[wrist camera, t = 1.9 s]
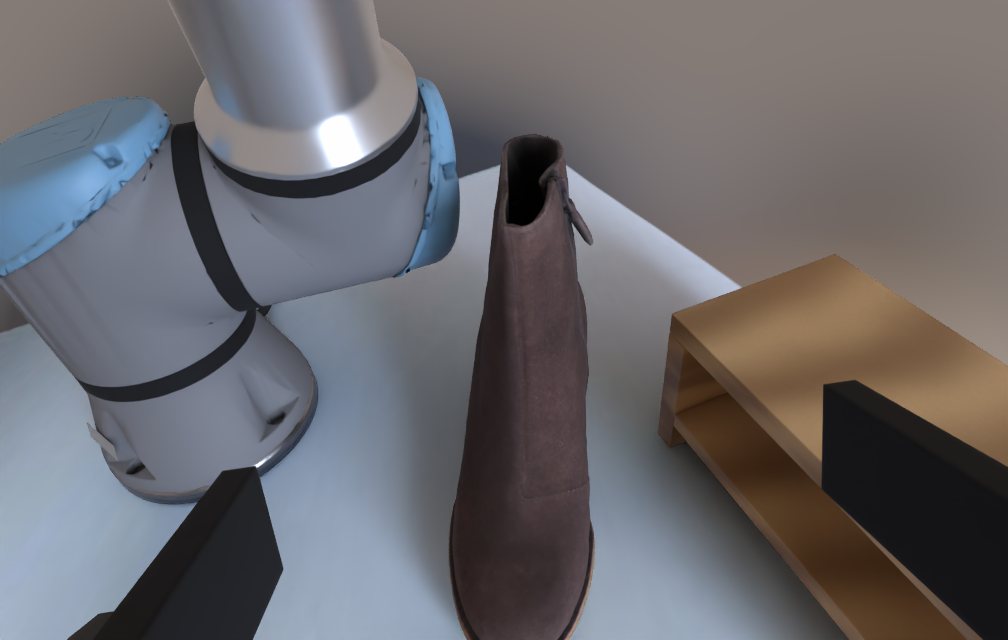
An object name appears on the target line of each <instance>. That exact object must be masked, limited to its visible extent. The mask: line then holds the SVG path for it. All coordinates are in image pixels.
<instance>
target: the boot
mask: <svg viewBox="0 0 1008 640" xmlns="http://www.w3.org/2000/svg"><path fill="white" fill-rule="evenodd" d="M563 152H564V151H563V147H562V145H561V144H560V142H559V141H558V140H554V139H552V138H550V137H548V136H547V137H544V136H541V135H537V134H530V135H523V136H518V137H515V138H513V139H511V140H509V141H508V142H506V143H505V145H504V147H503V150H502V158H501V166H500V175H499V184H498V192H497V199H496V204H495V210H494V219H493V229H492V239H491V247H490V257H489V271H488V282H487V287H486V292H485V300H484V309H483V315H482V319H481V323H480V328H479V333H478V338H477V344H476V352H475V361H474V369H473V376H472V385H471V392H470V399H469V408H468V417H467V425H466V434H465V444H464V452H463V459H462V465H461V472H460V477H459V482H458V488H457V494H456V499H455V503H454V506H453V511H452V516H451V522H450V533H449V566H450V577H451V585H452V592H453V597H454V603H455V607H456V611H457V615H458V619H459V622H460V625H461V628H462V630H463V632H464V635H465V637H466V639H467V640H569V639H570V637H571V635H572V633H573V632H574V630H575V628H576V626H577V624H578V621H579V619H580V617H581V614H582V611H583V609H584V606H585V603H586V599H587V596H588V592H589V588H590V584H591V579H592V573H593V565H594V550H595V544H594V533H593V527H592V523H591V520H590V509H589V493H590V487H589V476H588V461H587V440H586V400H585V396H586V390H587V383H588V376H589V366H588V353H587V316H586V306H585V301H584V296H583V293H582V289H581V287H580V284H579V282H578V275H577V262H576V248H575V240H574V233H573V228H572V223H573V225H574V226H575V228H576V229H577V230H578V232H579V233H580V235H581V236H582V238H583V239H584V241H585V242H586V243H588V244H589V245H592V244H593V239H592V235H591V233H590V231H589V229H588V227H587V225H586V224H585V222H584V221H583V219H582V217H581V215H580V214H579V213H578V211H577V210H576V208H575V205H574V203H573V201H572V200H571V199H570V198H569V192H568V178H567V172H566V164H565V160H564V157H563Z"/></svg>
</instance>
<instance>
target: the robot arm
mask: <svg viewBox="0 0 1008 640" xmlns="http://www.w3.org/2000/svg"><path fill="white" fill-rule="evenodd" d="M167 1H168V3H169V5H170V7H171V9H172V11H173V13H174V15H175V17H176V19H177V21H178V23H179V25H180V27H181V29H182V31H183V33H184V35H185V37H186V39H187V41H188V43H189V45H190V47H191V49H192V52H193V53H194V55H195V58H196V60H197V62H198V64H199V65H200V68H201V69H202V72H203V74H204V76H205V80H204V81H203V83H202V85H201V86H200V88H199V91H198V93H197V96H196V100H195V105H194V120H195V121H194V122H189V123H184V124H176V125H172V124H170V122H171V120H170V118H169V116H168V114H167V112H166V111H164V110H162V109H161V108H160V107H159V105H158V104H157V103H156V102H155V101H153V100H151V99H149V98H145V97H140V96H136V97H133V98H127V97H118V98H113V99H108V100H103V101H99V102H96V103H92V104H89V105H85V106H82V107H79V108H76V109H73V110H70V111H68V112H65V113H63V114H60V115H58V116H55V117H53V118H50V119H48V120H45V121H43V122H41V123H39V124H36V125H34V126H32V127H30V128H28V129H26V130H24V131H22V132H20V133H18V134H16V135H15V136H13V137H11V138H9V139H7V140H6V141H4V142H2V143H0V288H1V289H2V290H3V292H4V293H5V294H6V295H7V296H8V298H9V299H10V300H11V301H12V302H13V304H14V305H15V306H16V307H17V308H18V310H19V311H20V312H21V313H22V314H23V316H24V317H25V318H26V319H27V320H28V322H29V323H30V324H31V325H32V327H33V328H34V329H35V330H36V331H37V333H38V334H39V335H40V336H41V337H42V339H43V340H44V341H45V342H46V343H47V345H48V346H49V347H50V348H51V350H52V351H53V352H54V353H55V354H56V356H57V357H58V358H59V359H60V360H61V362H62V363H63V364H64V365H65V366H66V368H67V369H68V370H69V371H70V372H71V374H72V375H73V376H74V377H75V378H76V379H77V381H78V382H79V383H80V384H81V386H82V387H83V388H84V390H85V391H86V392H87V394H88V397H89V401H90V405H91V409H92V413H93V417H94V421H95V425H96V429H97V431H96V430H95V429H94V428H93V427H92V426H91V425H89V424H88V423H87V425H88V428H89V432H90V435H91V437H92V438H93V439H94V440H95V441H96V442H97V443H98V444H100V445H101V449H102V453H103V456H104V458H105V460H106V462H107V464H108V466H109V468H110V470H111V471H112V473H113V474H114V475H115V477H116V478H117V479H118V480H119V481H120V482H121V483H122V484H123V486H124V487H125V488H126V489H128V490H129V491H130V492H131V493H133V494H134V495H136V496H138V497H140V498H142V499H144V500H147V501H150V502H155V503H161V504H187V503H194V502H198V503H197V504H196V506H195V507H194V508H193V510H192V511H191V512H190V513H189V515H188V516H187V517H186V519H185V520H184V521H183V523H182V524H181V525H180V526H179V528H178V529H177V530H176V532H175V533H174V534H173V536H172V537H171V538H170V539H169V541H168V542H167V543H166V545H165V546H164V547H163V549H162V550H161V551H160V552H159V554H158V555H157V556H156V558H155V559H154V560H153V562H152V563H151V564H150V565H149V567H148V568H147V569H146V571H145V572H144V573H143V575H142V576H141V577H140V578H139V580H138V581H137V582H136V584H135V585H134V586H133V588H132V589H131V590H130V591H129V593H128V594H127V595H126V597H125V598H124V599H123V601H122V602H121V603H120V604H119V606H118V607H117V608H116V610H115V611H114V612H107V613H101V614H98V615H97V616H95V617H94V618H93V619H92V620H90V621H89V622H88V623H87V624H85V625H84V626H83V627H82V628H80V629H79V630H78V631H77V632H75V633H74V634H73V635H72V636H70V637H69V638H68V639H67V640H253V638H254V635H255V633H256V631H257V628H258V626H259V624H260V622H261V619H262V617H263V615H264V612H265V610H266V608H267V606H268V603H269V601H270V599H271V596H272V594H273V592H274V590H275V587H276V585H277V583H278V580H279V578H280V576H281V574H282V571H283V565H282V562H281V558H280V554H279V550H278V546H277V543H276V539H275V535H274V531H273V527H272V524H271V520H270V516H269V512H268V508H267V505H266V501H265V497H264V493H263V489H262V486H261V482H260V478H259V477H260V476H261V475H263V474H264V473H266V472H267V471H269V470H270V469H271V468H273V467H274V466H275V465H276V464H277V463H279V462H280V461H281V460H282V459H283V458H284V457H285V456H286V455H287V454H288V453H289V452H290V451H291V450H292V449H293V448H294V447H295V446H296V444H297V443H298V442H299V441H300V439H301V438H302V437H303V435H304V434H305V432H306V430H307V429H308V427H309V425H310V423H311V421H312V419H313V416H314V414H315V411H316V407H317V401H318V387H317V382H316V379H315V376H314V374H313V372H312V370H311V367H310V365H309V363H308V361H307V360H306V358H305V357H304V356H303V354H302V353H301V351H300V350H299V349H298V348H297V347H296V346H295V345H294V344H293V343H292V342H291V341H290V340H289V339H288V338H286V337H285V336H284V335H283V334H282V333H281V332H280V331H279V330H278V329H277V328H276V327H275V326H274V325H272V324H271V323H270V322H269V321H268V320H267V319H266V318H265V315H266V314H267V312H268V311H269V309H270V307H271V305H272V304H276V303H280V302H284V301H289V300H293V299H298V298H302V297H306V296H311V295H315V294H320V293H324V292H328V291H333V290H337V289H341V288H346V287H350V286H355V285H359V284H363V283H368V282H372V281H377V280H381V279H385V278H390V277H394V278H395V277H400V276H403V275H404V274H406V273H407V272H409V271H410V270H413V269H416V268H420V267H423V266H426V265H430V264H433V263H436V262H438V261H440V260H442V259H443V258H444V257H445V256H446V255H447V254H448V253H449V252H450V251H451V249H452V247H453V245H454V243H455V240H456V237H457V232H458V226H459V215H460V192H459V180H458V177H457V174H456V171H455V163H456V155H455V147H454V141H453V136H452V131H451V126H450V122H449V118H448V115H447V112H446V108H445V106H444V103H443V101H442V98H441V96H440V94H439V91H438V90H437V88H436V87H435V85H434V84H433V83H432V82H431V81H429V80H428V79H424V78H416V76H415V73H414V71H413V68H412V66H411V65H410V63H409V62H408V60H407V59H406V57H405V56H404V55H403V54H402V53H401V52H400V51H399V50H398V49H396V48H395V47H394V46H393V45H392V44H390V43H388V42H387V41H385V40H383V39H382V38H380V36H379V30H378V25H377V20H376V15H375V9H374V4H373V0H167ZM256 308H259V309H258V310H257V309H256ZM821 489H822V490H823V491H824V492H825V493H826V494H827V495H828V496H829V497H830V498H832V499H833V500H834V501H835V502H836V503H837V504H838V505H839V506H840V507H841V508H842V509H843V510H844V511H845V512H847V513H848V514H849V515H850V516H851V517H852V518H853V519H854V520H855V521H856V522H857V523H858V524H859V525H860V526H862V527H863V528H864V529H865V530H866V531H867V532H868V533H869V534H870V535H871V536H872V537H873V538H874V539H875V540H877V541H878V542H879V543H880V544H881V545H882V546H883V547H884V548H885V549H886V550H887V551H888V552H889V553H891V554H892V555H893V556H894V557H895V558H896V559H897V560H898V561H899V562H900V563H901V564H902V565H903V566H904V567H906V568H907V569H908V570H909V571H910V572H911V573H912V574H913V575H914V576H915V577H916V578H917V579H918V580H919V581H921V582H922V583H923V584H924V585H925V586H926V587H927V588H928V589H929V590H930V591H931V592H932V593H933V594H934V595H936V596H937V597H938V598H939V599H940V600H941V601H942V602H943V603H944V604H945V605H946V606H947V607H948V608H949V609H951V610H952V611H953V612H954V613H955V614H956V615H957V616H958V617H959V618H960V619H961V620H962V621H963V622H965V623H966V624H967V625H968V626H969V627H970V628H971V629H972V630H973V631H974V632H975V633H976V634H977V635H978V636H980V637H981V638H982V639H983V640H1008V467H1007V466H1005V465H1004V464H1002V463H1000V462H998V461H997V460H995V459H993V458H991V457H990V456H988V455H986V454H984V453H983V452H981V451H979V450H977V449H976V448H974V447H972V446H970V445H969V444H967V443H965V442H963V441H962V440H960V439H958V438H956V437H955V436H953V435H951V434H949V433H948V432H946V431H944V430H942V429H941V428H939V427H937V426H935V425H934V424H932V423H930V422H928V421H927V420H925V419H923V418H921V417H920V416H918V415H916V414H914V413H913V412H911V411H909V410H907V409H906V408H904V407H902V406H900V405H899V404H897V403H895V402H893V401H892V400H890V399H888V398H886V397H885V396H883V395H881V394H879V393H878V392H876V391H874V390H873V389H871V388H869V387H867V386H866V385H864V384H862V383H860V382H859V381H857V380H850V381H843V382H836V383H829V384H823V426H822V484H821Z"/></svg>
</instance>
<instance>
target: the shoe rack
mask: <svg viewBox="0 0 1008 640" xmlns="http://www.w3.org/2000/svg"><path fill="white" fill-rule="evenodd" d="M850 380H857V381H859V382H860V383H862V384H864V385H866V386H867V387H869V388H871V389H873V390H874V391H876V392H878V393H879V394H881V395H883V396H885V397H886V398H888V399H890V400H892V401H893V402H895V403H897V404H899V405H900V406H902V407H904V408H906V409H907V410H909V411H911V412H913V413H914V414H916V415H918V416H920V417H921V418H923V419H925V420H927V421H928V422H930V423H932V424H934V425H935V426H937V427H939V428H941V429H942V430H944V431H946V432H948V433H949V434H951V435H953V436H955V437H956V438H958V439H960V440H962V441H963V442H965V443H967V444H969V445H970V446H972V447H974V448H976V449H977V450H979V451H981V452H983V453H984V454H986V455H988V456H990V457H991V458H993V459H995V460H997V461H998V462H1000V463H1002V464H1004V465H1005V466H1007V467H1008V366H1007V365H1006V364H1004V363H1002V362H1001V361H999V360H998V359H996V358H995V357H993V356H992V355H990V354H988V353H987V352H986V351H984V350H982V349H981V348H979V347H978V346H976V345H975V344H973V343H972V342H970V341H969V340H967V339H966V338H964V337H962V336H961V335H959V334H958V333H956V332H955V331H953V330H952V329H950V328H949V327H947V326H945V325H944V324H942V323H941V322H939V321H938V320H936V319H935V318H933V317H932V316H930V315H929V314H927V313H925V312H924V311H922V310H921V309H919V308H917V307H916V306H915V305H913V304H912V303H910V302H908V301H907V300H906V299H904V298H902V297H901V296H899V295H898V294H896V293H895V292H893V291H892V290H890V289H889V288H887V287H886V286H884V285H882V284H881V283H879V282H878V281H876V280H874V279H873V278H872V277H870V276H869V275H867V274H866V273H864V272H862V271H861V270H859V269H858V268H856V267H855V266H853V265H852V264H850V263H849V262H847V261H846V260H844V259H842V258H841V257H839V256H838V255H836V254H834V255H831V256H829V257H826V258H823V259H820V260H818V261H815V262H812V263H809V264H807V265H804V266H801V267H798V268H796V269H793V270H790V271H788V272H785V273H782V274H780V275H777V276H774V277H771V278H769V279H766V280H763V281H760V282H757V283H755V284H752V285H749V286H747V287H744V288H741V289H738V290H736V291H733V292H730V293H727V294H725V295H722V296H719V297H716V298H714V299H711V300H708V301H706V302H703V303H700V304H697V305H695V306H692V307H689V308H686V309H684V310H681V311H678V312H676V313H673V314H672V318H671V326H670V333H669V341H668V350H667V358H666V366H665V375H664V383H663V392H662V400H661V409H660V417H659V426H658V433H659V435H660V436H661V437H662V438H663V440H664V441H665V442H666V444H667V445H668V446H669V447H670V448H671V447H673V446H675V445H678V444H680V443H682V442H685V441H687V443H688V444H689V445H690V446H691V448H692V449H693V450H694V451H695V452H696V454H697V455H698V456H699V457H700V458H701V460H702V461H703V462H704V463H705V465H706V466H707V467H708V468H709V469H710V471H711V472H712V473H713V474H714V475H715V477H716V478H717V479H718V480H719V482H720V483H721V484H722V485H723V486H724V488H725V489H726V490H727V491H728V493H729V494H730V495H731V496H732V497H733V499H734V500H735V501H736V502H737V503H738V505H739V506H740V507H741V508H742V510H743V511H744V512H745V513H746V514H747V516H748V517H749V518H750V519H751V520H752V522H753V523H754V524H755V525H756V527H757V528H758V529H759V530H760V531H761V533H762V534H763V535H764V536H765V537H766V539H767V540H768V541H769V542H770V544H771V545H772V546H773V547H774V548H775V550H776V551H777V552H778V553H779V555H780V556H781V557H782V558H783V559H784V561H785V562H786V563H787V564H788V565H789V567H790V568H791V569H792V570H793V572H794V573H795V574H796V575H797V576H798V578H799V579H800V580H801V581H802V582H803V584H804V585H805V586H806V587H807V589H808V590H809V591H810V592H811V593H812V595H813V596H814V597H815V598H816V599H817V601H818V602H819V603H820V604H821V606H822V607H823V608H824V609H825V610H826V612H827V613H828V614H829V615H830V616H831V618H832V619H833V620H834V621H835V623H836V624H837V625H838V626H839V627H840V629H841V630H842V631H843V632H844V634H845V635H846V636H847V637H848V638H849V640H983V639H982V638H981V637H980V636H978V635H977V634H976V633H975V632H974V631H973V630H972V629H971V628H970V627H969V626H968V625H967V624H966V623H965V622H963V621H962V620H961V619H960V618H959V617H958V616H957V615H956V614H955V613H954V612H953V611H952V610H951V609H949V608H948V607H947V606H946V605H945V604H944V603H943V602H942V601H941V600H940V599H939V598H938V597H937V596H936V595H934V594H933V593H932V592H931V591H930V590H929V589H928V588H927V587H926V586H925V585H924V584H923V583H922V582H921V581H919V580H918V579H917V578H916V577H915V576H914V575H913V574H912V573H911V572H910V571H909V570H908V569H907V568H906V567H904V566H903V565H902V564H901V563H900V562H899V561H898V560H897V559H896V558H895V557H894V556H893V555H892V554H891V553H889V552H888V551H887V550H886V549H885V548H884V547H883V546H882V545H881V544H880V543H879V542H878V541H877V540H875V539H874V538H873V537H872V536H871V535H870V534H869V533H868V532H867V531H866V530H865V529H864V528H863V527H862V526H860V525H859V524H858V523H857V522H856V521H855V520H854V519H853V518H852V517H851V516H850V515H849V514H848V513H847V512H845V511H844V510H843V509H842V508H841V507H840V506H839V505H838V504H837V503H836V502H835V501H834V500H833V499H832V498H830V497H829V496H828V495H827V494H826V493H825V492H824V491H823V490H822V489H821V484H822V426H823V384H829V383H836V382H843V381H850Z"/></svg>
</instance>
